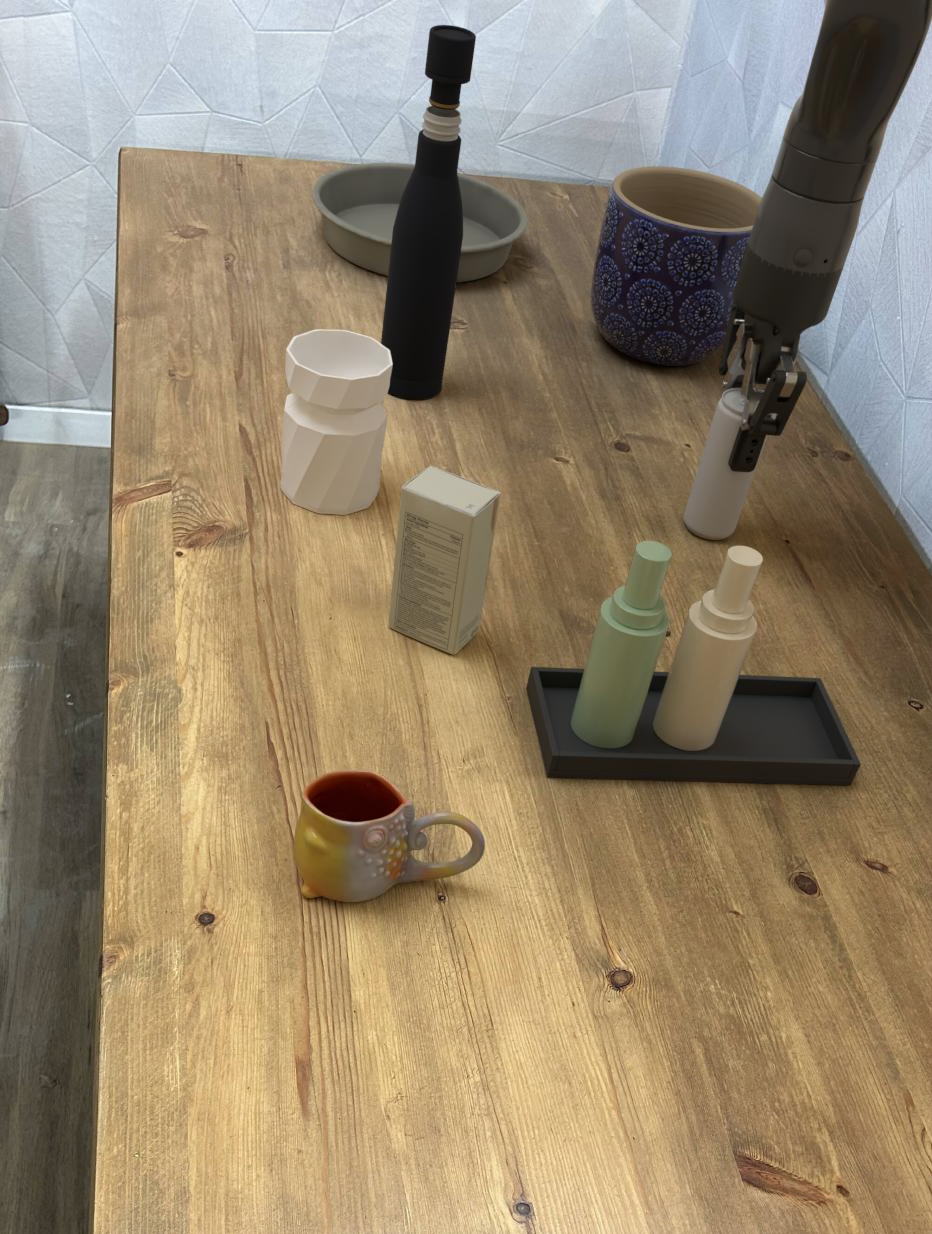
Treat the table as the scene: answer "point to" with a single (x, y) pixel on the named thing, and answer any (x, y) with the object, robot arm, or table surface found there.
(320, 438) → the vase
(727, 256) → the planter
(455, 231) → the black bottle
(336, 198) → the cake pan
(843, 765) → the tray
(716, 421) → the beverage can
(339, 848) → the mug
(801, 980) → the table surface
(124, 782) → the table surface
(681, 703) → the cream bottle
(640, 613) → the sage bottle
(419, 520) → the cosmetic box
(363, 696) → the table surface
